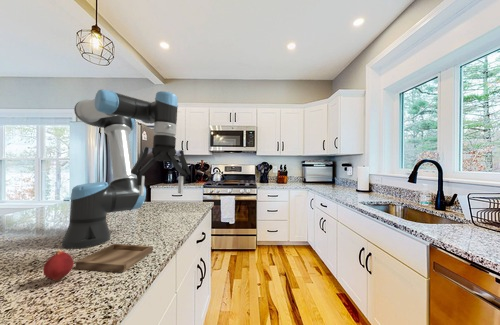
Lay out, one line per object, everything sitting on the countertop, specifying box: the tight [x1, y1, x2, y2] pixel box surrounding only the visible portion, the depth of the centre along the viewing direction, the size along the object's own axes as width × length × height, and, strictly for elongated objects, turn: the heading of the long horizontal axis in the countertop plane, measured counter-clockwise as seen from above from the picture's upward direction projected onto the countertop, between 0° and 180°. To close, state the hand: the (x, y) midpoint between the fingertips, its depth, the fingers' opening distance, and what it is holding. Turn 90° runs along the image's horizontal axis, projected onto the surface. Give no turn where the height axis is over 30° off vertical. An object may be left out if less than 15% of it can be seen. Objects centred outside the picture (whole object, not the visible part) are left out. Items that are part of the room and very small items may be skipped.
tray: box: [75, 243, 154, 273], centre depth 68 cm, size 15×15×2 cm
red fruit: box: [42, 249, 74, 282], centre depth 55 cm, size 6×6×8 cm
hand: (161, 194), depth 75 cm, fingers open, 13 cm apart
